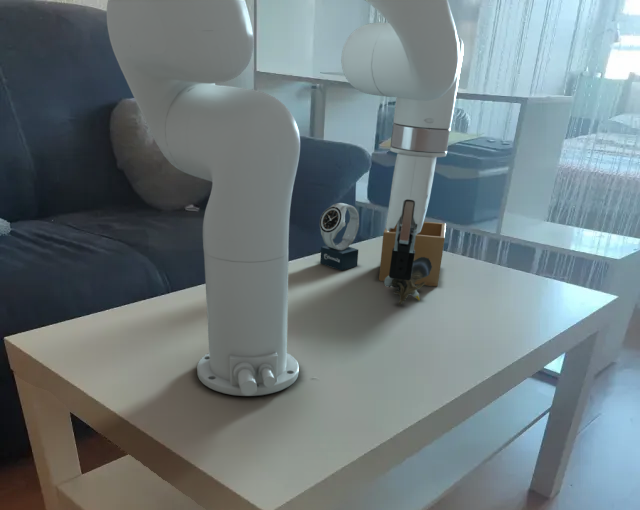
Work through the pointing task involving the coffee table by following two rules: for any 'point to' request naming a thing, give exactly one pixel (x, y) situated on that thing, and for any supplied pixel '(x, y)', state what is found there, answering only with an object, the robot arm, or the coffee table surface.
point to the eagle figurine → (407, 286)
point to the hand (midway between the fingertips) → (400, 277)
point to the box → (417, 250)
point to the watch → (340, 252)
